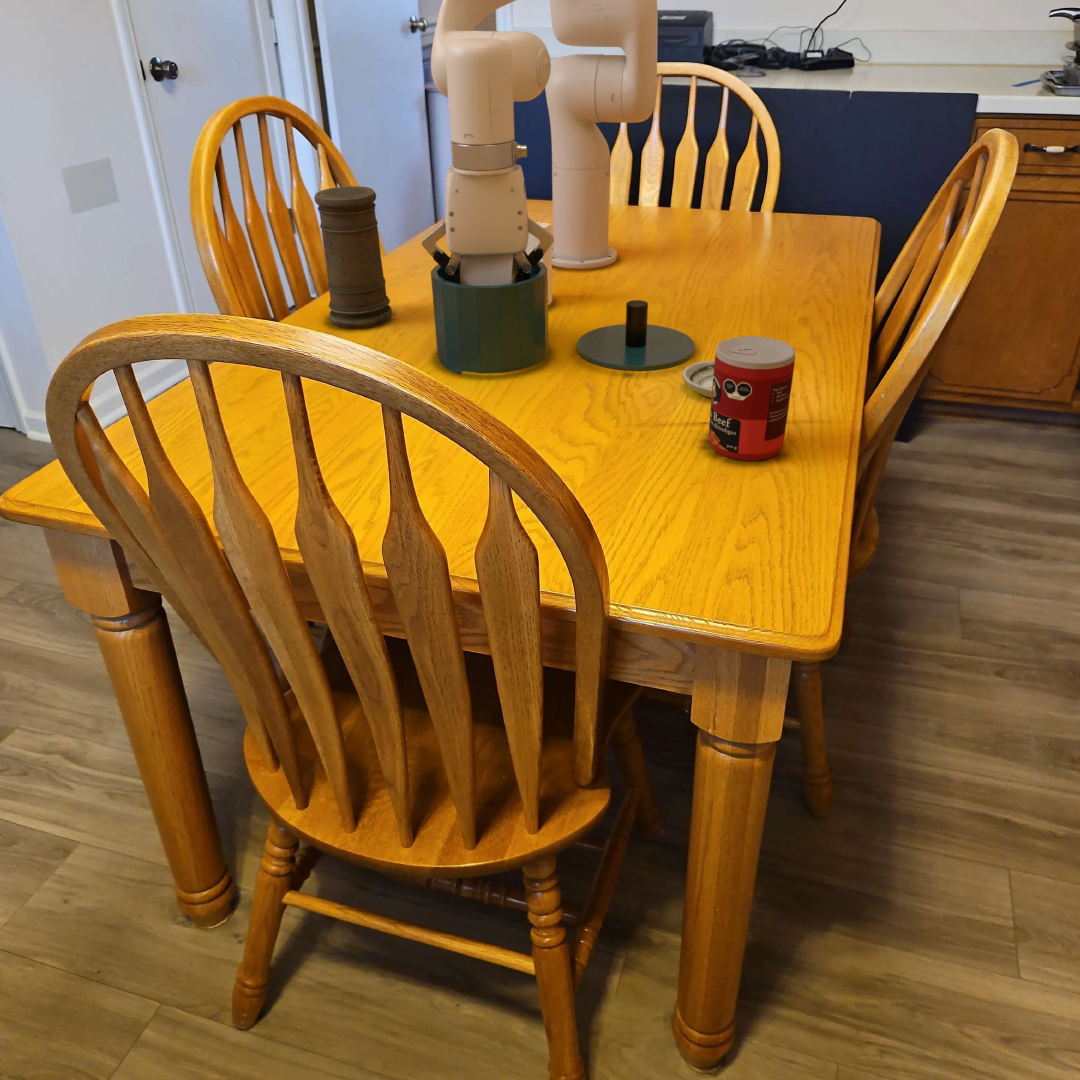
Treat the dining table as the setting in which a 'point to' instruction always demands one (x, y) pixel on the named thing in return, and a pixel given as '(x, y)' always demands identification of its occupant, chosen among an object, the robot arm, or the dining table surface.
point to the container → (353, 257)
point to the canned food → (750, 397)
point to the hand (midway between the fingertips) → (490, 300)
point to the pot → (491, 323)
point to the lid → (636, 343)
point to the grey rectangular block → (488, 270)
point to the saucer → (700, 377)
